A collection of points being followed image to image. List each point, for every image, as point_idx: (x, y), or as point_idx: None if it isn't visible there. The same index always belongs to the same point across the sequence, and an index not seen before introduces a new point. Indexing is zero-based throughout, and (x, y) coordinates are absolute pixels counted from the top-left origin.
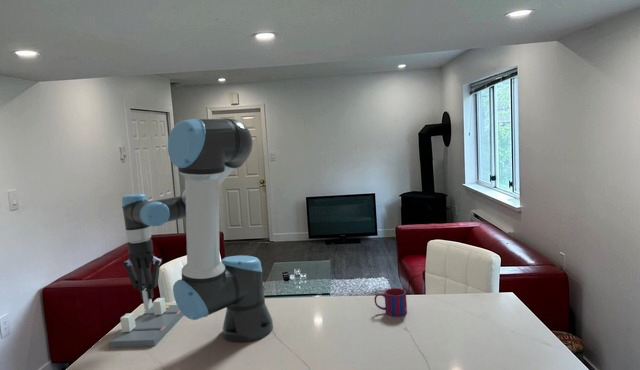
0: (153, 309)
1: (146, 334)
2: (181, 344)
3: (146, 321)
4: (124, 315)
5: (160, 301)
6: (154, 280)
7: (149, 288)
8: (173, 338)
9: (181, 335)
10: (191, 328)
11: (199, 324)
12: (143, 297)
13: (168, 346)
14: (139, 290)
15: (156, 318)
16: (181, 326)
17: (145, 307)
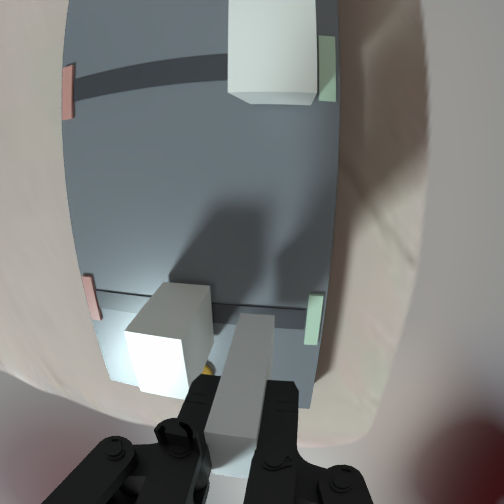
0: None
1: (127, 19)
2: (9, 39)
3: (221, 198)
4: (308, 43)
5: (126, 337)
6: (60, 493)
7: (160, 446)
8: (42, 72)
9: (24, 103)
10: (16, 169)
11: (8, 206)
12: (259, 385)
13: (42, 12)
14: (289, 449)
15: (174, 238)
16: (55, 190)
17: (262, 324)
